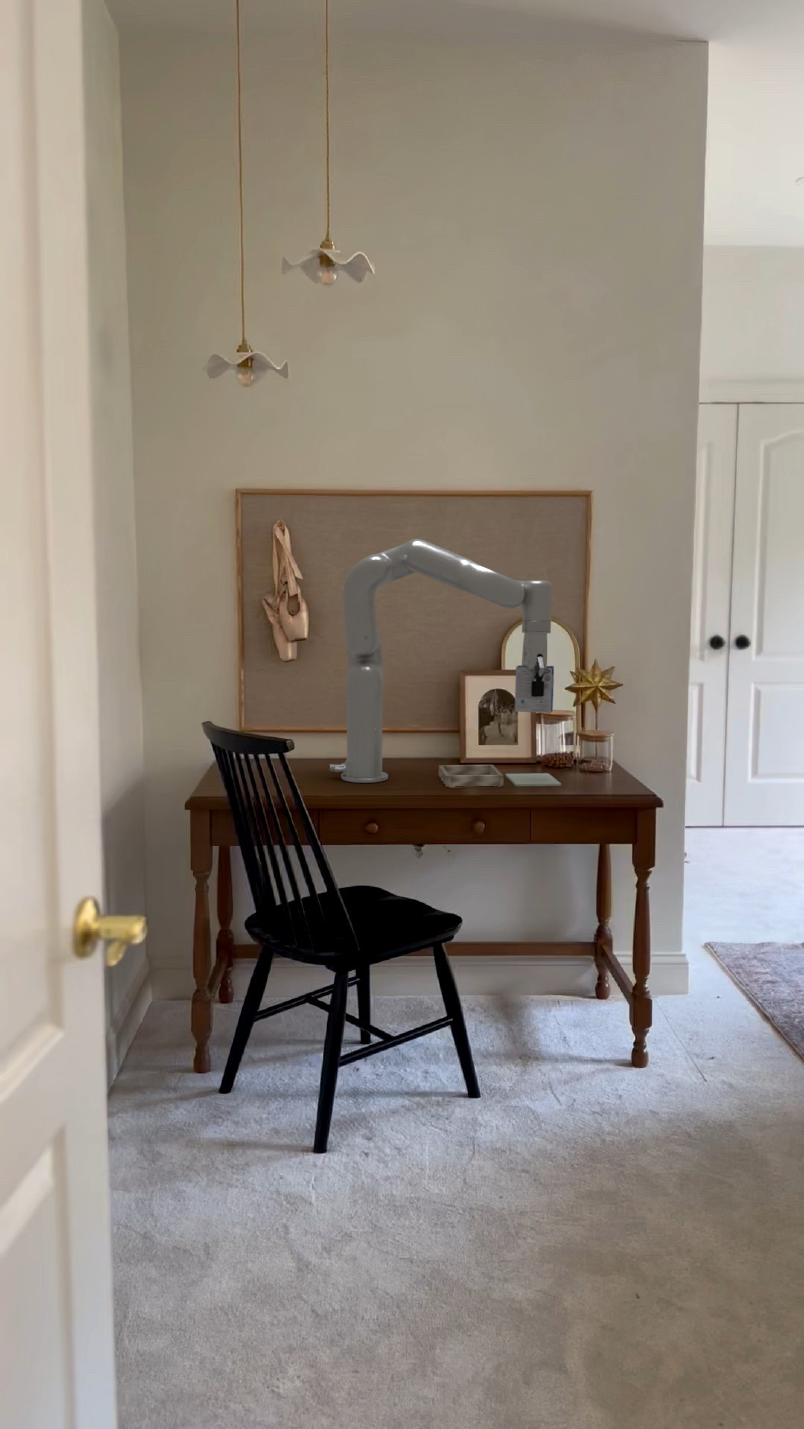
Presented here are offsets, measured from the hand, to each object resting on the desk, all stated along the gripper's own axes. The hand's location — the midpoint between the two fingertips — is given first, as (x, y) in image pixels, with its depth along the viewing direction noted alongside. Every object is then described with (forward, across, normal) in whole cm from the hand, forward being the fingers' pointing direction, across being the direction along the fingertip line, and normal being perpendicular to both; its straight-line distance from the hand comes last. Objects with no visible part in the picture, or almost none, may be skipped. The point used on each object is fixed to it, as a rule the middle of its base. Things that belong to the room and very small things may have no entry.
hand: (534, 694), depth 292 cm
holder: (+24, 0, -17) cm, 29 cm away
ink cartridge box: (+5, 0, 0) cm, 5 cm away
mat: (+23, 0, 0) cm, 23 cm away
